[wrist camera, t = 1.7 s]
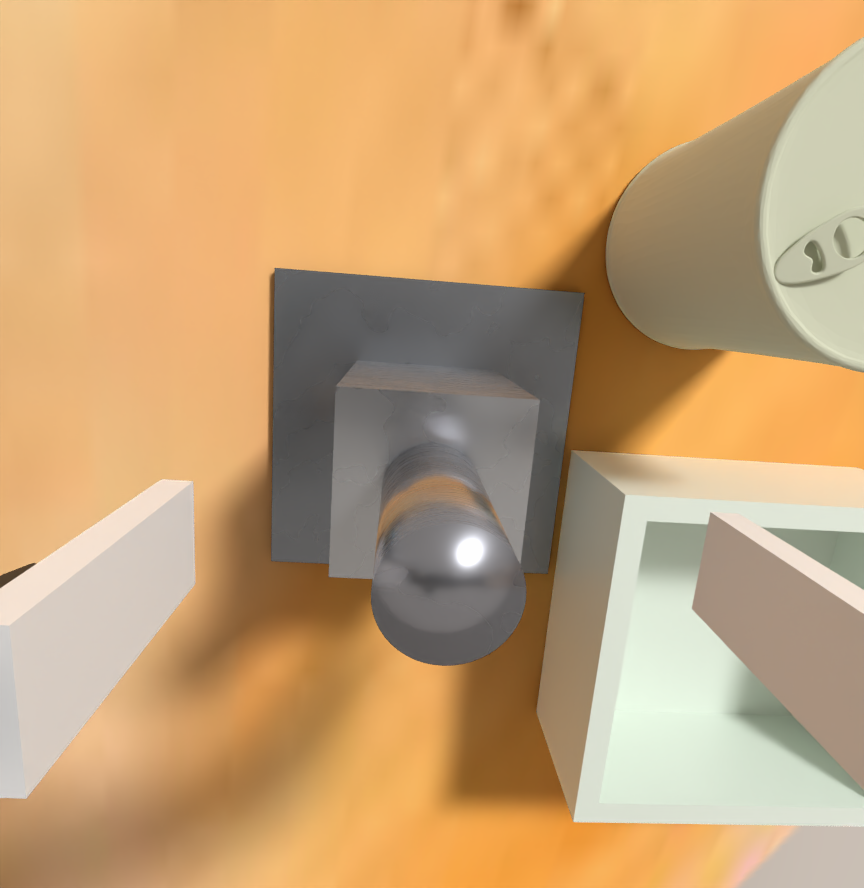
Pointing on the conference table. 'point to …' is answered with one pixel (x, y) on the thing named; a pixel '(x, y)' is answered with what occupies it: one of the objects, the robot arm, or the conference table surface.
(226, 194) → the conference table surface
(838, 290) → the can
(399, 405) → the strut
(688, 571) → the bin
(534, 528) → the stud plate
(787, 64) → the conference table surface
